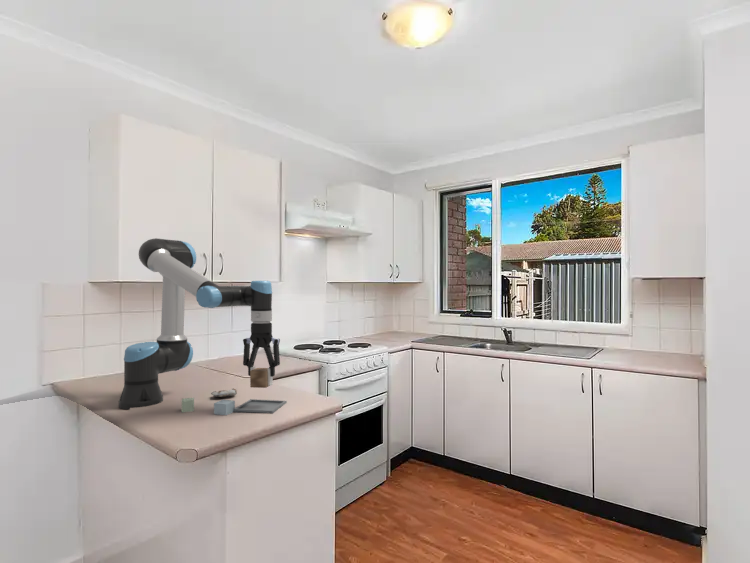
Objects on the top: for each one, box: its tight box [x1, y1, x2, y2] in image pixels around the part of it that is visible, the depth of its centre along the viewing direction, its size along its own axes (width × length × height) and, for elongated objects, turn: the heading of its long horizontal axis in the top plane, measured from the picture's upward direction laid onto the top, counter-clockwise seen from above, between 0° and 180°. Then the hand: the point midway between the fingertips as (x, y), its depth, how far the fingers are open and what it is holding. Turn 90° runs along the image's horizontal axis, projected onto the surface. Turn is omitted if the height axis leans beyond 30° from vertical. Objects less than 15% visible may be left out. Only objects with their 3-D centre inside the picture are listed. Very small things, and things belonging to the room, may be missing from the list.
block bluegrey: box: [213, 399, 236, 416], centre depth 156 cm, size 5×5×4 cm
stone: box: [210, 388, 238, 398], centre depth 177 cm, size 10×7×3 cm
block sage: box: [181, 397, 195, 413], centre depth 159 cm, size 4×4×4 cm
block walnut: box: [249, 367, 269, 389], centre depth 162 cm, size 6×6×6 cm
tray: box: [233, 398, 287, 415], centre depth 162 cm, size 15×14×1 cm
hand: (261, 384), depth 162 cm, fingers closed on block walnut, 6 cm apart
